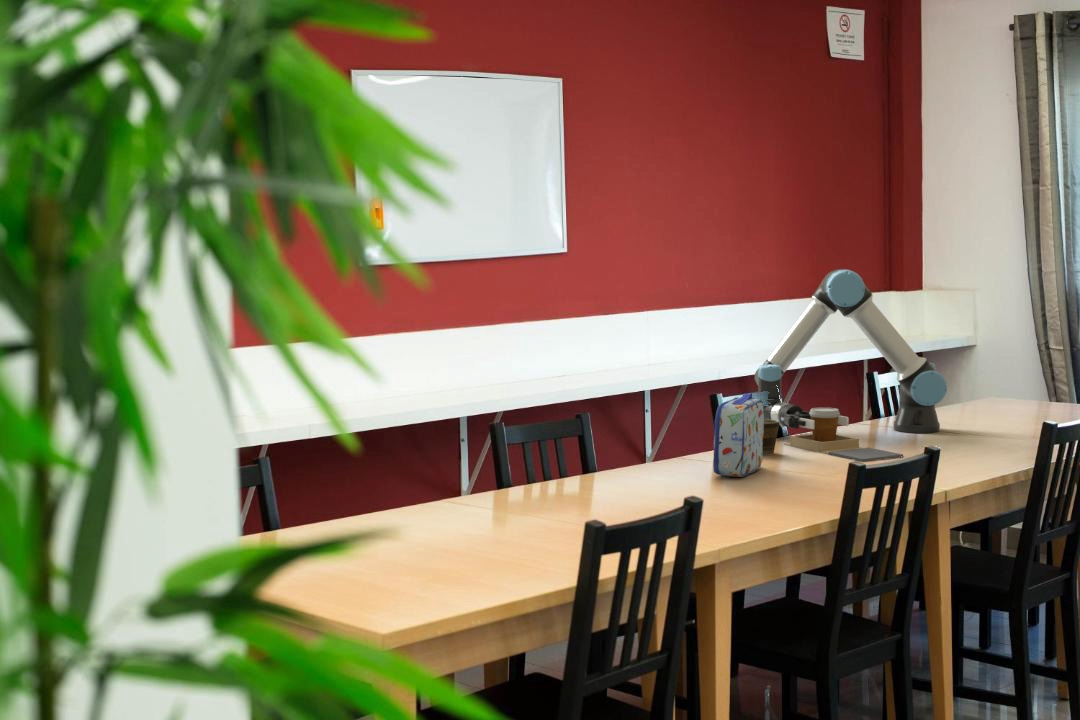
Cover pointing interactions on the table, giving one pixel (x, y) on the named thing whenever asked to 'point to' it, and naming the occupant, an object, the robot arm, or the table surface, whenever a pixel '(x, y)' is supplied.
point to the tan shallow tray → (824, 443)
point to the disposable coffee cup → (824, 423)
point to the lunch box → (738, 436)
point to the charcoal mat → (865, 454)
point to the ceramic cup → (769, 436)
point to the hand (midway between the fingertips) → (830, 423)
